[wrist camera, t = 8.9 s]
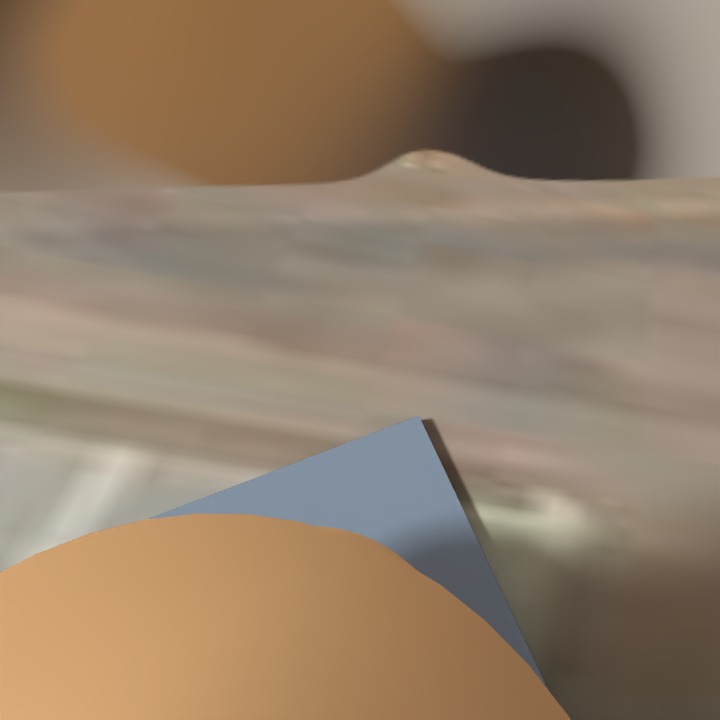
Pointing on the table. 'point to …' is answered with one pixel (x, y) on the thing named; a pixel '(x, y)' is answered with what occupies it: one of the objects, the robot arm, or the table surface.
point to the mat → (383, 513)
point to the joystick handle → (247, 630)
